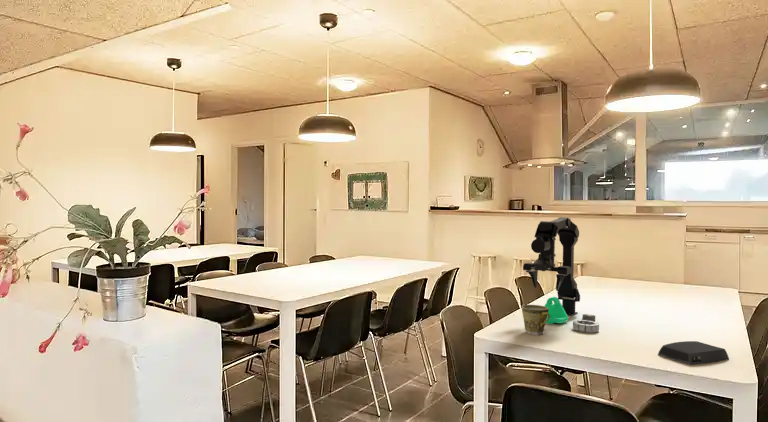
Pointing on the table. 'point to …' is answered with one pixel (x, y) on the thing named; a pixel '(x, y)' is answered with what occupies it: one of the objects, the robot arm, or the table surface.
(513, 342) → the table surface
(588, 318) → the cap
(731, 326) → the table surface
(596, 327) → the grey piece
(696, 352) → the external hard drive
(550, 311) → the camera mount
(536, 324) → the ceramic cup
